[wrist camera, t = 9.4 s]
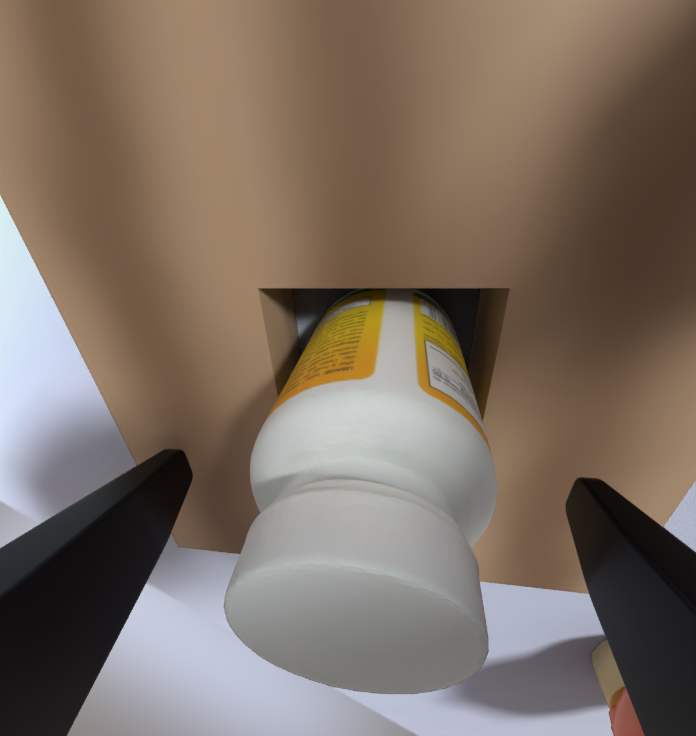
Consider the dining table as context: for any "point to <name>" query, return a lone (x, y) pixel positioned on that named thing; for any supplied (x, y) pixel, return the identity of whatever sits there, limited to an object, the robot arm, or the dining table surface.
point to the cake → (615, 693)
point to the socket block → (372, 225)
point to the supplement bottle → (370, 506)
